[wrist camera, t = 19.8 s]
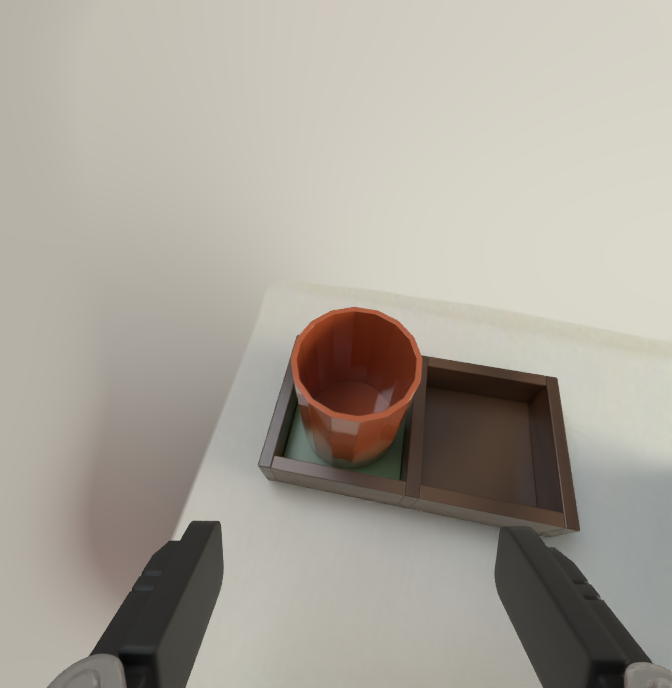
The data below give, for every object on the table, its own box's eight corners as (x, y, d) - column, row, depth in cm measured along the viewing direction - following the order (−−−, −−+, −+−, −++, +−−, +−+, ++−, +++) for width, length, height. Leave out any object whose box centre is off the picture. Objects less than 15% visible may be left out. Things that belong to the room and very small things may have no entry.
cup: (294, 458, 25) (275, 406, 17) (315, 373, 28) (308, 299, 21) (391, 477, 24) (416, 432, 16) (400, 388, 27) (425, 317, 20)
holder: (266, 479, 25) (257, 465, 22) (300, 359, 30) (296, 334, 27) (548, 537, 23) (580, 531, 20) (533, 398, 28) (557, 377, 25)
